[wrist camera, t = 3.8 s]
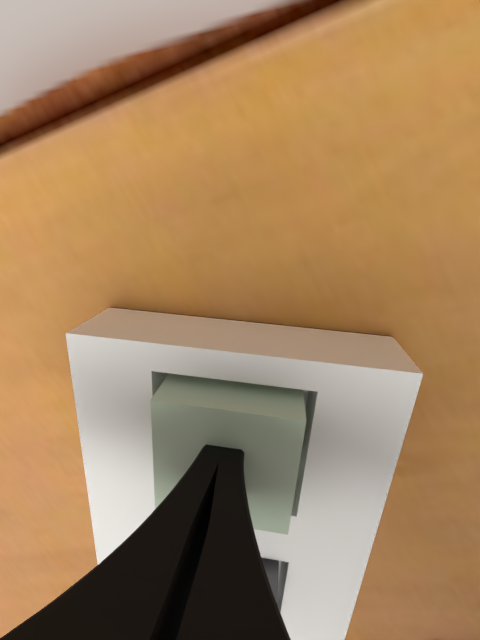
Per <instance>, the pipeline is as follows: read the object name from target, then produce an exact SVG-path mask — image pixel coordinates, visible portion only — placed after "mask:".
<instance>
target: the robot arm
mask: <svg viewBox="0 0 480 640" xmlns="http://www.w3.org/2000/svg"><path fill="white" fill-rule="evenodd" d="M0 640H291V639H290V637H289V634H288V632H287V629H286V627H285V624H284V621H283V619H282V616H281V613H280V611H279V608H278V605H277V603H276V600H275V597H274V595H273V592H272V589H271V586H270V583H269V580H268V577H267V574H266V571H265V568H264V565H263V561H262V558H261V555H260V551H259V548H258V544H257V540H256V537H255V533H254V528H253V524H252V520H251V515H250V511H249V505H248V499H247V494H246V487H245V478H244V452H243V451H242V449H235V448H227V447H220V446H214V445H207V444H206V445H205V446H203V448H202V449H201V451H200V452H199V454H198V456H197V457H196V459H195V460H194V462H193V463H192V464H191V466H190V467H189V468H188V470H187V471H186V473H185V474H184V475H183V477H182V478H181V479H180V480H179V482H178V483H177V484H176V485H175V487H174V488H173V489H172V490H171V492H170V493H169V494H168V495H167V496H166V498H165V499H164V500H163V501H162V502H161V503H160V504H159V506H158V507H157V508H156V509H155V510H154V511H153V512H152V513H151V515H150V516H149V517H148V518H147V519H146V520H145V521H144V522H143V523H142V524H141V525H140V526H139V527H138V528H137V529H136V530H135V531H134V532H133V533H132V534H131V535H130V536H129V537H128V538H127V539H126V540H125V541H124V542H123V543H122V544H121V545H120V546H118V547H117V548H116V549H115V550H114V551H113V552H112V553H111V554H110V555H109V556H107V557H106V558H105V559H104V560H103V561H102V562H101V563H100V564H98V565H97V566H96V567H95V568H94V569H93V570H91V571H90V572H89V573H88V574H87V575H85V576H84V577H83V578H81V579H80V580H79V581H78V582H76V583H75V584H74V585H73V586H71V587H70V588H69V589H68V590H66V591H65V592H64V593H63V594H61V595H60V596H59V597H57V598H56V599H55V600H54V601H52V602H51V603H50V604H48V605H47V606H46V607H44V608H43V609H41V610H40V611H39V612H37V613H36V614H34V615H33V616H31V617H30V618H29V619H27V620H26V621H24V622H23V623H22V624H20V625H19V626H17V627H16V628H14V629H13V630H12V631H10V632H9V633H7V634H6V635H4V636H3V637H2V638H0Z"/></svg>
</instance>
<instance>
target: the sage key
mask: <svg viewBox="0 0 480 640" xmlns="http://www.w3.org/2000/svg"><path fill="white" fill-rule="evenodd" d="M150 402H151V426H152V449H153V472H154V496H155V509H156V508H157V507H158V506H159V504H160V503H161V502H162V501H163V500H164V499H165V498H166V496H167V495H168V494H169V493H170V492H171V490H172V489H173V488H174V487H175V485H176V484H177V483H178V482H179V480H180V479H181V478H182V477H183V475H184V474H185V473H186V471H187V470H188V468H189V467H190V466H191V464H192V463H193V462H194V460H195V459H196V457H197V456H198V454H199V452H200V451H201V449H202V448H203V446H205V445H206V444H207V445H214V446H220V447H227V448H235V449H242V451H243V452H244V478H245V487H246V494H247V499H248V505H249V511H250V515H251V520H252V524H253V528H254V529H256V530H262V531H268V532H274V533H280V534H286V535H288V532H289V525H290V519H291V513H292V507H293V501H294V494H295V488H296V482H297V476H298V470H299V463H300V457H301V451H302V445H303V439H304V432H305V426H306V412H305V403H304V393H303V390H301V389H293V388H284V387H276V386H268V385H260V384H252V383H244V382H236V381H227V380H219V379H211V378H203V377H195V376H187V375H179V374H171V373H169V374H168V375H167V377H166V378H165V380H164V381H163V383H162V384H161V385H160V387H159V388H158V390H157V391H156V393H155V394H154V396H153V397H152V399H151V400H150Z"/></svg>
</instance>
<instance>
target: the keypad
mask: <svg viewBox="0 0 480 640" xmlns="http://www.w3.org/2000/svg"><path fill="white" fill-rule="evenodd" d="M66 340H67V347H68V354H69V362H70V369H71V376H72V383H73V390H74V397H75V405H76V412H77V419H78V426H79V433H80V440H81V448H82V455H83V462H84V469H85V476H86V483H87V491H88V498H89V505H90V512H91V519H92V527H93V534H94V541H95V548H96V555H97V562H98V564H100V563H101V562H102V561H103V560H104V559H105V558H106V557H107V556H109V555H110V554H111V553H112V552H113V551H114V550H115V549H116V548H117V547H118V546H120V545H121V544H122V543H123V542H124V541H125V540H126V539H127V538H128V537H129V536H130V535H131V534H132V533H133V532H134V531H135V530H136V529H137V528H138V527H139V526H140V525H141V524H142V523H143V522H144V521H145V520H146V519H147V518H148V517H149V516H150V515H151V513H152V512H153V511H154V510H155V496H154V472H153V449H152V426H151V402H150V400H151V399H152V397H153V396H154V394H155V393H156V391H157V390H158V388H159V387H160V385H161V384H162V383H163V381H164V380H165V378H166V377H167V375H168V374H169V373H171V374H179V375H187V376H195V377H203V378H211V379H219V380H227V381H236V382H244V383H252V384H260V385H268V386H276V387H284V388H293V389H301V390H303V393H304V403H305V412H306V426H305V432H304V439H303V445H302V451H301V457H300V463H299V470H298V476H297V482H296V488H295V494H294V501H293V507H292V513H291V519H290V525H289V532H288V535H286V534H280V533H274V532H268V531H262V530H256V529H254V533H255V537H256V540H257V544H258V548H259V551H260V555H261V557H262V558H268V559H273V560H279V573H278V608H279V611H280V613H281V616H282V619H283V621H284V624H285V627H286V629H287V632H288V634H289V637H290V639H291V640H345V637H346V633H347V630H348V626H349V623H350V620H351V616H352V613H353V610H354V606H355V603H356V599H357V596H358V593H359V589H360V586H361V583H362V579H363V576H364V572H365V569H366V566H367V562H368V559H369V556H370V552H371V549H372V545H373V542H374V539H375V535H376V532H377V529H378V525H379V522H380V518H381V515H382V512H383V508H384V505H385V502H386V498H387V495H388V492H389V488H390V485H391V481H392V478H393V475H394V471H395V468H396V465H397V461H398V458H399V454H400V451H401V448H402V444H403V441H404V438H405V434H406V431H407V427H408V424H409V421H410V417H411V414H412V411H413V407H414V404H415V400H416V397H417V394H418V390H419V387H420V384H421V380H422V377H423V373H422V372H421V370H420V369H419V368H418V367H417V365H416V364H415V363H414V362H413V361H412V359H411V358H410V357H409V356H408V354H407V353H406V352H405V351H404V350H403V348H402V347H401V346H400V345H399V344H398V342H397V341H396V340H395V339H394V337H390V336H380V335H370V334H361V333H351V332H341V331H332V330H322V329H312V328H303V327H293V326H283V325H274V324H264V323H254V322H245V321H235V320H225V319H216V318H206V317H196V316H187V315H177V314H167V313H158V312H148V311H138V310H129V309H119V308H108V309H106V310H104V311H102V312H101V313H99V314H97V315H96V316H94V317H92V318H91V319H89V320H87V321H85V322H84V323H82V324H80V325H79V326H77V327H75V328H73V329H72V330H70V331H68V332H67V333H66Z"/></svg>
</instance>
